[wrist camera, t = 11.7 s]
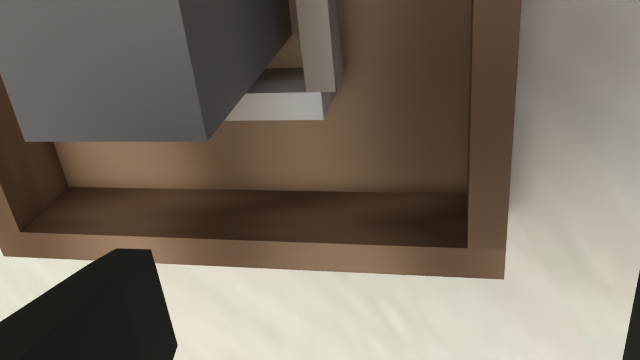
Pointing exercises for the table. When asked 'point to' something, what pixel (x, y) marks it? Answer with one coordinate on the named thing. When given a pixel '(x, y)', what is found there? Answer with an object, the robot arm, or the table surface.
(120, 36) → the grey rectangular block
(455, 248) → the walnut box
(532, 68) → the table surface
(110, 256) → the robot arm
